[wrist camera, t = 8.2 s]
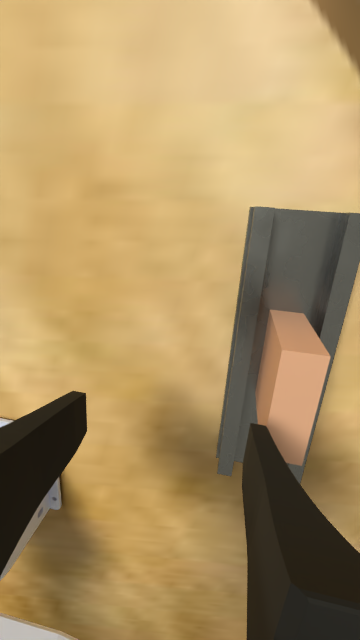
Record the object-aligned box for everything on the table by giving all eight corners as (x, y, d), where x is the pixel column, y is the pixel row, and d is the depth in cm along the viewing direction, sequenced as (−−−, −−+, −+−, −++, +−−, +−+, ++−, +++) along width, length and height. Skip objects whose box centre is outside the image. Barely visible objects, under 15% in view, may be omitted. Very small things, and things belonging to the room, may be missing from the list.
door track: (295, 462, 23) (301, 490, 21) (217, 448, 24) (214, 472, 22) (358, 214, 17) (376, 214, 15) (249, 207, 18) (251, 206, 16)
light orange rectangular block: (285, 397, 20) (302, 465, 15) (255, 392, 21) (260, 457, 15) (303, 313, 18) (330, 356, 13) (269, 309, 19) (281, 349, 13)
